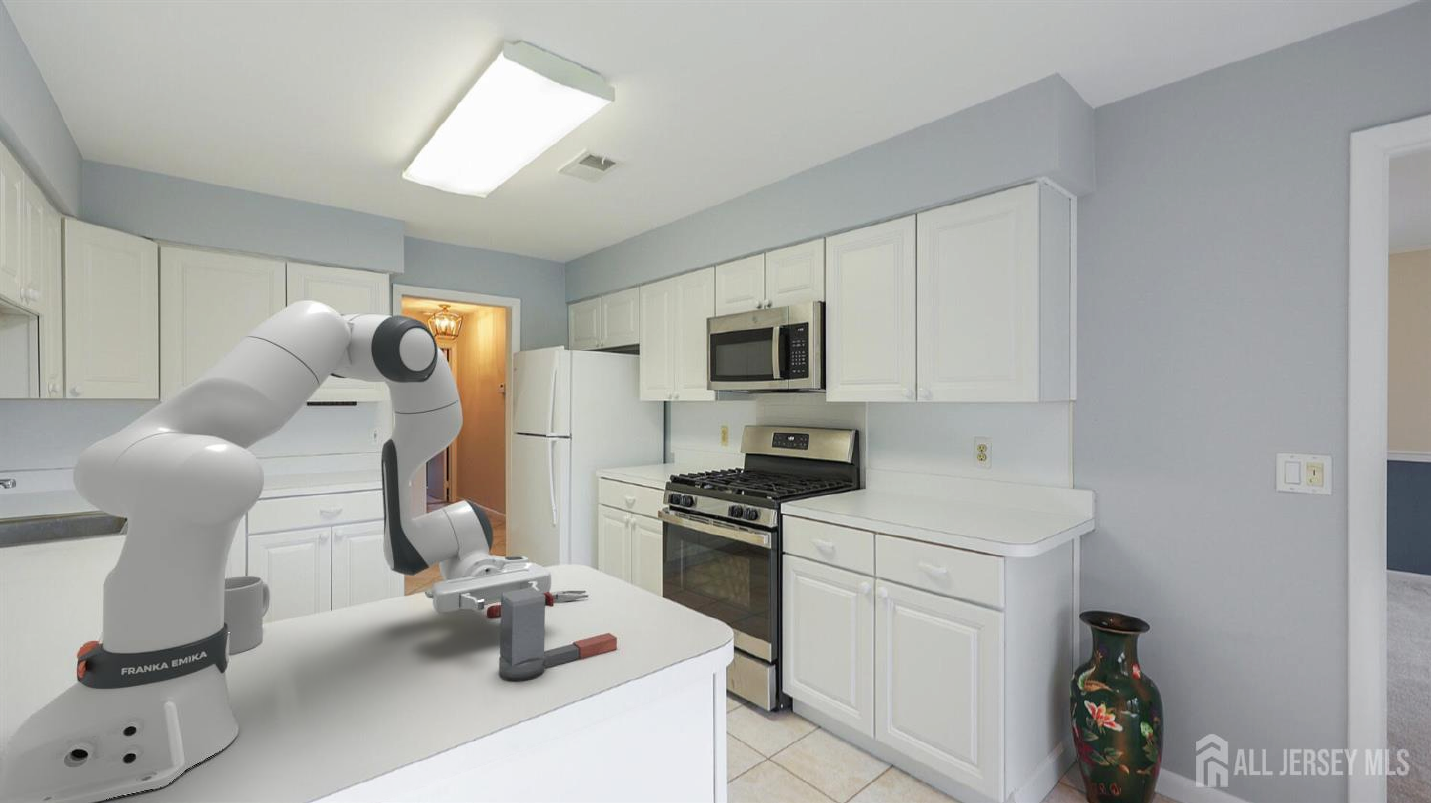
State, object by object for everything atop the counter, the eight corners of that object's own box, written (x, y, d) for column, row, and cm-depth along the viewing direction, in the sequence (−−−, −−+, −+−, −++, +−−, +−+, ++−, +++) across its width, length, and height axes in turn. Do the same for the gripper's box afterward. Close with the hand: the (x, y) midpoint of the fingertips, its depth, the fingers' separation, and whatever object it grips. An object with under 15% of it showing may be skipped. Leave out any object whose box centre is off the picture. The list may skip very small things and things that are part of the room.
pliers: (593, 608, 129) (593, 595, 129) (486, 621, 120) (486, 608, 120) (581, 591, 140) (581, 579, 140) (483, 602, 131) (483, 590, 131)
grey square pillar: (511, 666, 94) (513, 602, 94) (500, 654, 99) (501, 593, 98) (543, 657, 98) (545, 595, 98) (531, 647, 102) (532, 587, 102)
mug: (235, 657, 101) (236, 591, 101) (185, 655, 101) (186, 589, 101) (288, 630, 113) (289, 570, 113) (244, 628, 113) (245, 569, 113)
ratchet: (508, 685, 93) (509, 649, 93) (492, 669, 99) (493, 634, 99) (622, 653, 106) (623, 620, 106) (603, 640, 111) (603, 609, 111)
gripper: (422, 572, 108) (443, 593, 97) (534, 554, 121) (564, 571, 110) (421, 608, 108) (443, 632, 97) (533, 586, 121) (563, 606, 110)
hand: (508, 600), depth 104 cm, fingers open, 8 cm apart
